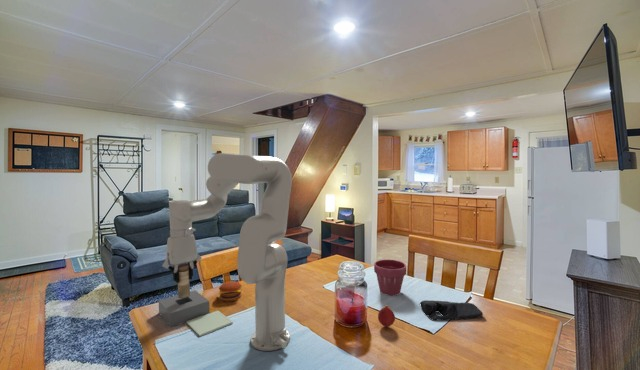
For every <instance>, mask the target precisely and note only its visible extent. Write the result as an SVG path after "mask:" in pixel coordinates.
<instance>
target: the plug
mask: <svg viewBox="0 0 640 370" xmlns="http://www.w3.org/2000/svg"><path fill="white" fill-rule="evenodd" d="M178 272H179V283H177V295H178V297H179V298H186V297H188V296H190V292H191V290H190V289H191V288H190V279H189V264H188V263H181V264H178Z"/></svg>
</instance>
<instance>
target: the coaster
mask: <svg viewBox="0 0 640 370" xmlns="http://www.w3.org/2000/svg"><path fill="white" fill-rule="evenodd" d="M185 323H186V324H187V325H188V326H189V328H190V329H191V330H193V331H194V332H195V334H196V335H197V336H198V337H202V336H205V335H208V334H210V333H213V332H214V331H217V329H218V330H219V329H223V328H225V327H227V326H230V325H233V324H234V322H233V321H232V320H231V319H230V318H228V317H227V316H226V315H225V314H223V313H222V312H221V311H219V310H215V311H212V312H209V314H206V315H203V316H201V317H198V318H195V319H192V320H189V321H186V322H185Z"/></svg>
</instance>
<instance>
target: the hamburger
mask: <svg viewBox="0 0 640 370" xmlns="http://www.w3.org/2000/svg"><path fill="white" fill-rule="evenodd" d="M242 287H243V285H242V283H240V282H239V281H235V280H230V281H226V282H223V283H221V285H220V286H219V287H218V290H219V299H220V300H221V302H226V303H227V302H233V301H234V302H235V301H236V300H237V301H238V300H239V299H241V298H242Z"/></svg>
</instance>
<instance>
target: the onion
mask: <svg viewBox="0 0 640 370" xmlns="http://www.w3.org/2000/svg"><path fill="white" fill-rule="evenodd" d="M377 319H378V322H379V323H380V325H381V326H383V327H384V328H389V327H390V326H393V324H394V322H395V321H396V315H395V313H394V311H393V309H391V308H390V306H389V305H388V304H386V305H385V306H384V307H382V308H381V309H380V310H379V311H378V314H377Z"/></svg>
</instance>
